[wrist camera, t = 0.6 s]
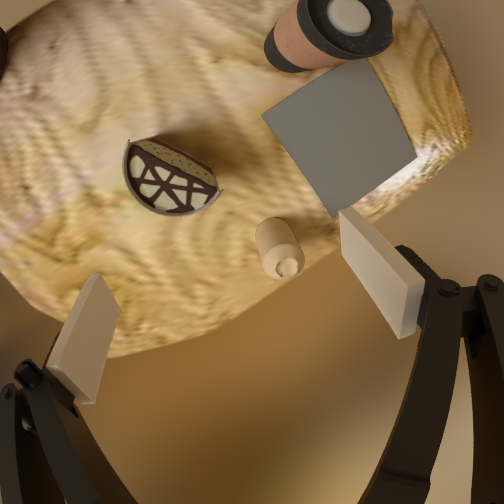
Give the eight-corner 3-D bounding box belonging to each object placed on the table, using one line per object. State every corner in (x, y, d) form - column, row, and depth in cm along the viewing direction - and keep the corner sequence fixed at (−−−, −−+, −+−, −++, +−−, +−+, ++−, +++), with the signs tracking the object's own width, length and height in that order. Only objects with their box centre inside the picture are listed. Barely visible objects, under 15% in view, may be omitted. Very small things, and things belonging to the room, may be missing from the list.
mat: (260, 115, 36) (261, 115, 36) (360, 53, 32) (362, 52, 32) (331, 216, 45) (332, 218, 44) (414, 156, 41) (416, 157, 40)
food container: (125, 169, 38) (101, 191, 29) (145, 131, 35) (123, 141, 27) (200, 208, 42) (196, 239, 33) (222, 172, 40) (224, 195, 31)
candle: (247, 232, 45) (255, 267, 36) (276, 210, 43) (292, 241, 35) (268, 255, 47) (281, 293, 38) (296, 235, 46) (315, 270, 37)
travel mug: (249, 46, 31) (281, -1, 14) (290, 15, 29) (352, -41, 12) (288, 85, 34) (353, 77, 17) (328, 54, 32) (413, 31, 15)
